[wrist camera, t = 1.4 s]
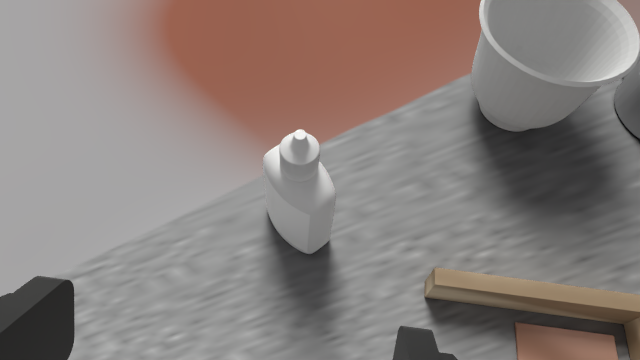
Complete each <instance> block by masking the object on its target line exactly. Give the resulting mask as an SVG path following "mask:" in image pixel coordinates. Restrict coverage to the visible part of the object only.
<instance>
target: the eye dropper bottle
mask: <svg viewBox="0 0 640 360" xmlns="http://www.w3.org/2000/svg"><path fill="white" fill-rule="evenodd" d="M319 156H320V146H319V144H318V142H317V140H316V139H315V138H314V137H313V136H311V135H310V134H307V133H306V132H305V131H303V130H297V131H295V133H292V134H290V135H288V136H286V137H285V138H284V139H283V141H282V142H281V144H279V145H278V146H276V147H274V148H273V149H271V150H270V151H269V152H267V153H266V155H265V156H264V160H263V173H264V185H265V195H266V206H267V211H268V214H269V217H270V219H271V221H272V223H273V225H274V227H275V229H276V230H277V232H278V233H279V234H280V235H281V237H282V238H283V239H284V240H285V241H287V242H288V243H289V244H290V245H291V246H293V247H294V248H296V249H298V250H299V251H301V252H304V253H306V254H312V253H314V252H316V251H317V250H318V249H320V248H321V247H322V246H324V245H325V244H326V243H327V242H328V241H329V239H330V234H331V228H332V222H333V216H334V209H335V201H336V193H335V189H334V186H333V183H332V181H331V178H330V176H329V174H328V173H327V171H326V169H325V168H324V166H323V165H322V164H321V163H320V161H319Z"/></svg>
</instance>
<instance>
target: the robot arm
mask: <svg viewBox="0 0 640 360" xmlns="http://www.w3.org/2000/svg"><path fill="white" fill-rule="evenodd" d="M614 103H615V108H616V111H617V113H618V115H619V118H620V119H621V121H622V122H623V123H624V125H625V126H626V127H627V128H628V129H629V130H630V131H631V132H632V133H633V134H634V135H635V136H636V137H638V138H639V139H640V57H639V60H638V62H637V64H636V66H635V67H634V68H633V69H632V71H631V72H629V73H628V74H627V75H626V76H624V77H623V82H622V83H621V84H620V85H619V87H618V88H617V90H616V93H615V98H614ZM73 343H74V287H73V284H72V282H71V281H70V280H65V279H57V278H50V277H42V276H37V277H35V278H33V279H32V280H30V281H29V282H27V283H26V284H25V285H23V286H22V287H21V288H19V289H18V290H16V291H15V292H14V293H9V294H6V295H4V296H1V297H0V360H67V359H68V357H69V355H70V353H71V350H72V347H73ZM393 360H457V359H456V357H455V356H454V355H453V354H447V353H439V351H438V348H437V345H436V342H435V338H434V335H433V332H432V330H428V329H421V328H413V327H406V326H400V328H399V330H398V334H397V340H396V345H395V350H394V356H393Z"/></svg>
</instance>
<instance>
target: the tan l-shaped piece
mask: <svg viewBox="0 0 640 360" xmlns="http://www.w3.org/2000/svg"><path fill="white" fill-rule="evenodd" d="M425 297H426V298H433V299H441V300H448V301H456V302H463V303H470V304H478V305H485V306H493V307H500V308H507V309H515V310H522V311H530V312H537V313H544V314H552V315H559V316H567V317H574V318H581V319H589V320H596V321H604V322H611V323H618V324H624V328H625V334H626V339H627V344H628V350H629V355H630V360H640V295H636V294H629V293H621V292H614V291H607V290H599V289H592V288H584V287H577V286H569V285H562V284H554V283H547V282H539V281H532V280H524V279H517V278H510V277H502V276H495V275H487V274H480V273H472V272H465V271H457V270H450V269H442V268H434V270H433V271H432V272H431V274H430V275H429V276H428V278H427V279H426V281H425ZM515 335H516V348H517V360H618V356H617V351H616V345H615V339H614V336H612V335H605V334H598V333H590V332H583V331H575V330H568V329H561V328H553V327H546V326H539V325H531V324H524V323H515Z"/></svg>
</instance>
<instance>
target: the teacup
mask: <svg viewBox="0 0 640 360" xmlns="http://www.w3.org/2000/svg"><path fill="white" fill-rule="evenodd" d="M479 17H480V23H481V27H482V32H481V36H480V40H479V43H478V47H477V51H476V54H475V57H474V61H473V67H472V86H473V91H474V94H475V96H476V98H477V100H478V101H479V106H480V109H481V112H482V113H483V115H484V116H485V117H486V118H487V119H488V120H489V121H490V122H491V123H492V124H494V125H496V126H497V127H499V128H502V129H505V130H508V131H525V130H528V129H530V128H541V127H545V126H549V125H552V124H554V123H556V122H558V121H560V120H562V119H564V118H565V117H567V116H568V115H569V114H570V113H572V112H573V111H574V110H575V109H577V108H578V107H579V106H580V105H581V104H582V103H583V102H584V101H585V100H587V99H588V98H589V97H590V96H591V95H592V94H593V93H594V92H595V91H596V90H597V89H598V88H600V87H601V86H602V85H605V84H609V83H612V82H614V81H617V80H619V79H621V78H623V77H624V76H626V75H627V74H628V73H629V72H631V71H632V69H633V68H634V67H635V66H636V64H637V62H638V60H639V57H640V37H639V33H638V30H637V27H636V25H635V23H634V21H633V19H632V18H631V16H630V15H629V13H628V12H627V11H626V10H625V8H624V7H623V6H622V5H621V4H620V3H619V2H618V1H616V0H481V4H480V9H479Z"/></svg>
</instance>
